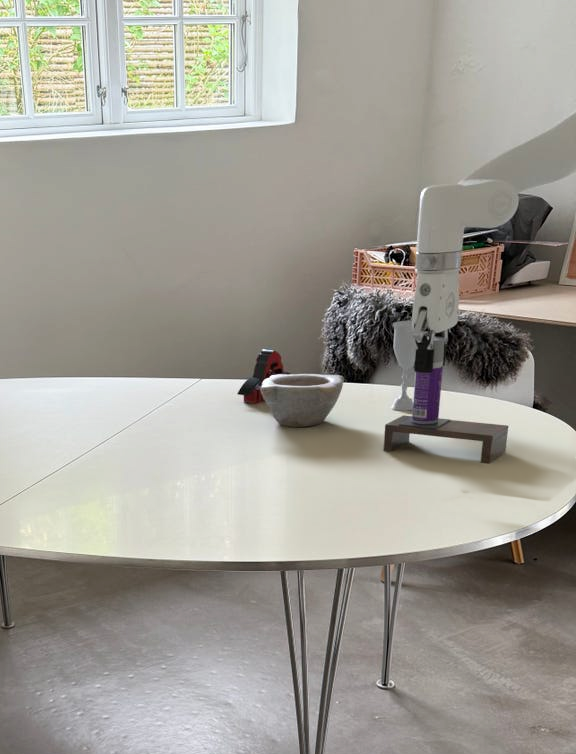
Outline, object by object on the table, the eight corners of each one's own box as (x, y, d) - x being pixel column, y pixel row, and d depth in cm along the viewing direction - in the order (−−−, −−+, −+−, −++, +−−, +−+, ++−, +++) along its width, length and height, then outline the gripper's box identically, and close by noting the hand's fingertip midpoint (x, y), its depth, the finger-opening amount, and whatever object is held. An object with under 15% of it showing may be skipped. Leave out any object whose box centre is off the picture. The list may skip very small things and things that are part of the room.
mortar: (346, 413, 209) (348, 371, 205) (334, 432, 195) (336, 387, 191) (270, 412, 215) (271, 371, 211) (253, 430, 201) (253, 387, 197)
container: (442, 422, 176) (449, 339, 169) (417, 425, 176) (423, 341, 169) (432, 417, 180) (439, 335, 173) (408, 419, 180) (413, 337, 173)
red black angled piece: (247, 405, 222) (247, 356, 217) (237, 403, 225) (236, 355, 220) (298, 391, 232) (299, 344, 227) (287, 390, 234) (288, 343, 230)
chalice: (414, 412, 205) (421, 326, 198) (383, 410, 209) (388, 325, 201) (422, 405, 211) (429, 320, 203) (391, 403, 214) (397, 320, 206)
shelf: (505, 452, 174) (508, 424, 172) (489, 463, 169) (492, 434, 167) (401, 440, 186) (403, 414, 184) (383, 450, 181) (385, 423, 179)
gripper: (439, 268, 158) (430, 379, 166) (477, 257, 169) (467, 361, 177) (396, 268, 162) (389, 376, 170) (436, 257, 173) (428, 359, 181)
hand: (429, 368), depth 173 cm, fingers closed on container, 4 cm apart
